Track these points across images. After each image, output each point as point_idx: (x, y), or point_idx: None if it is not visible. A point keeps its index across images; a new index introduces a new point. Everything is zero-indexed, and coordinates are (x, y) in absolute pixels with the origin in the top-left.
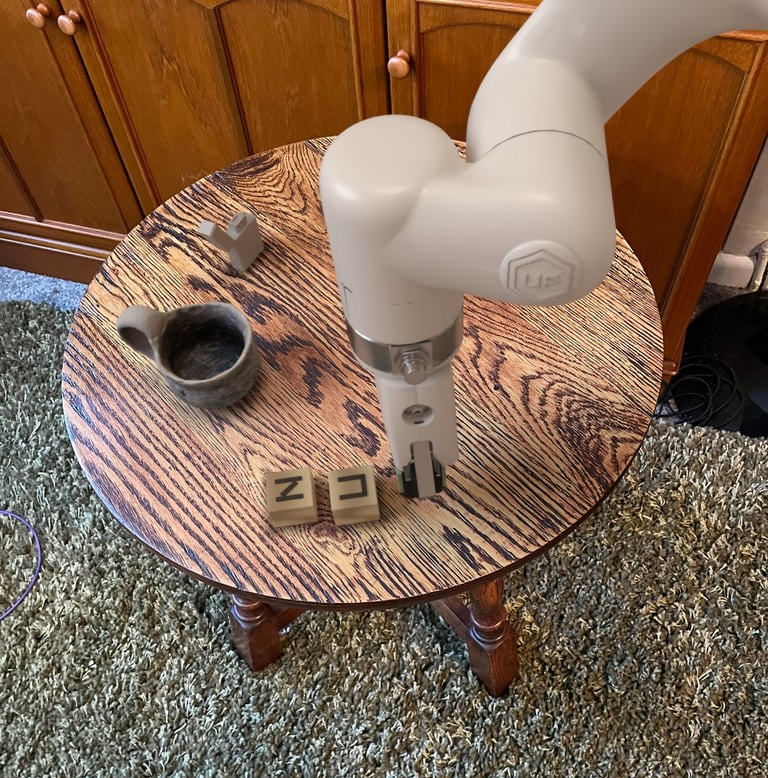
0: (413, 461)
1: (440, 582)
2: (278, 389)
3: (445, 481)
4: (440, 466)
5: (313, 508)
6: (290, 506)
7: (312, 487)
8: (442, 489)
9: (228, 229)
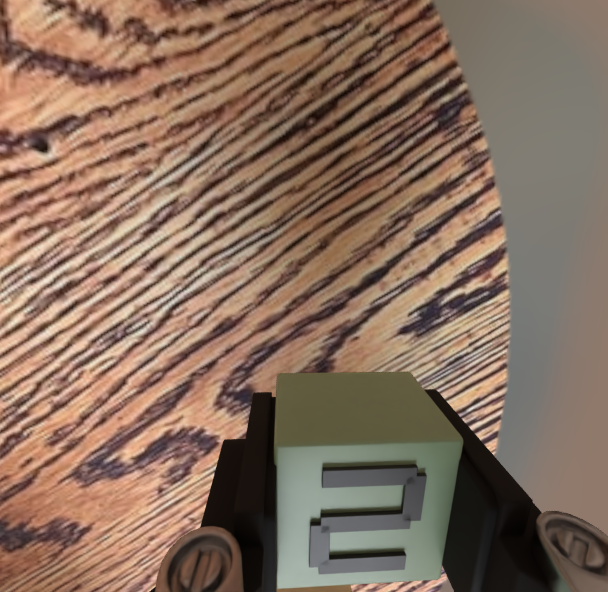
0: (408, 535)
1: (506, 354)
2: (40, 589)
3: (419, 385)
4: (523, 503)
5: (350, 586)
6: None
7: (303, 587)
8: (438, 394)
9: None
